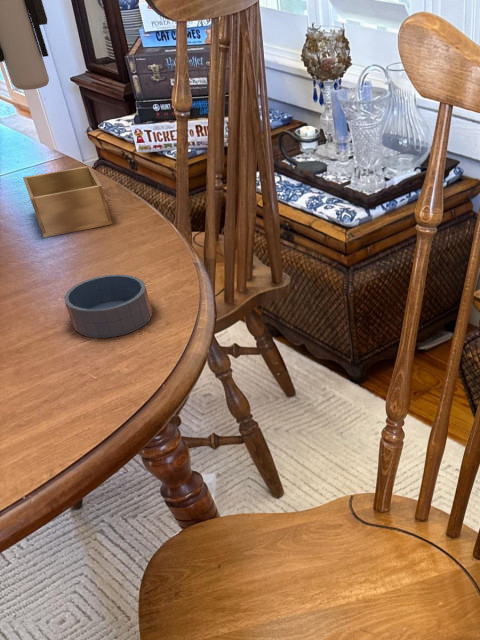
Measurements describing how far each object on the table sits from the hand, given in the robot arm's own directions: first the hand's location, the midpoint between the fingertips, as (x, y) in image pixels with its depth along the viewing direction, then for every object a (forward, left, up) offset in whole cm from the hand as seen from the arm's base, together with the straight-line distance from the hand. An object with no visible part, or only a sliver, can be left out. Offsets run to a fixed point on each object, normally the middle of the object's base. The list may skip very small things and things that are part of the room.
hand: (22, 56), depth 103 cm
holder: (-2, +1, -22) cm, 22 cm away
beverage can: (0, 0, -4) cm, 4 cm away
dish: (+24, -23, -22) cm, 40 cm away
